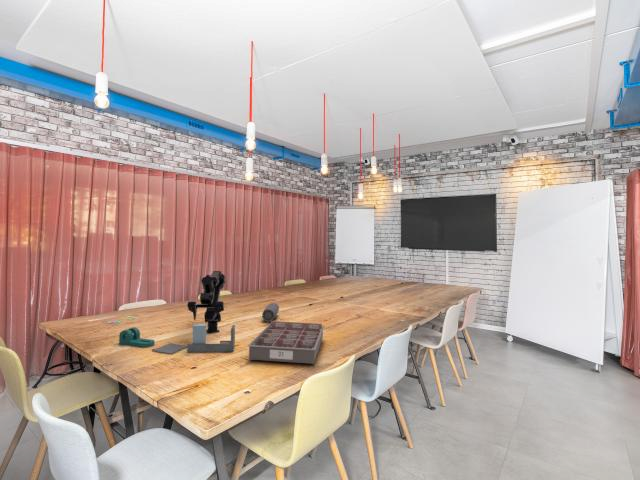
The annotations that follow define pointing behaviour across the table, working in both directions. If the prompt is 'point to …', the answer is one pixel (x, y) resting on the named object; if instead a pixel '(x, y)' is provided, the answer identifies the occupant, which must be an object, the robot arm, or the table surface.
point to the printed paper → (117, 320)
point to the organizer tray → (287, 342)
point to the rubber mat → (170, 348)
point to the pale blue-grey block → (199, 334)
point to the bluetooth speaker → (270, 312)
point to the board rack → (214, 345)
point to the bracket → (134, 338)
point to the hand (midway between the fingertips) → (203, 319)
